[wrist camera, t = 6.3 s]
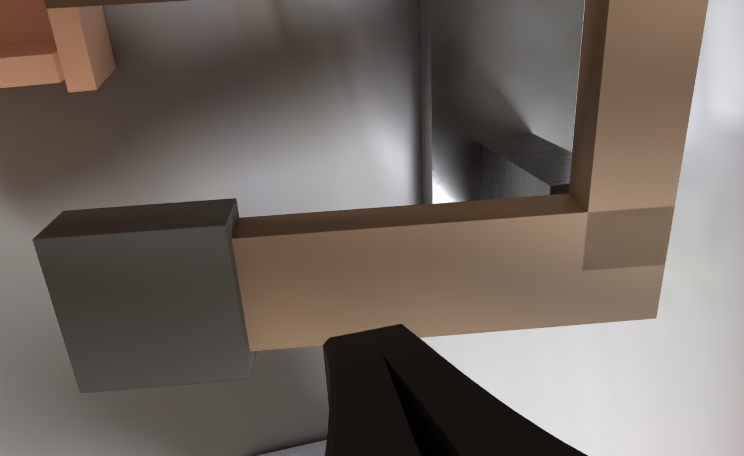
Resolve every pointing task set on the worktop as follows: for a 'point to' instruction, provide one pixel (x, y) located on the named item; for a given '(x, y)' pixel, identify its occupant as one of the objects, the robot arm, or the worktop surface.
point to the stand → (498, 97)
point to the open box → (54, 45)
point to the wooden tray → (394, 239)
